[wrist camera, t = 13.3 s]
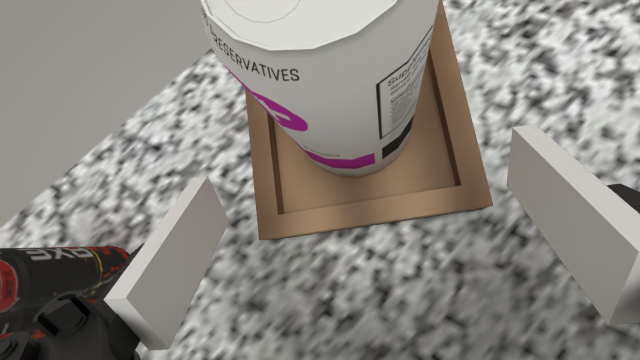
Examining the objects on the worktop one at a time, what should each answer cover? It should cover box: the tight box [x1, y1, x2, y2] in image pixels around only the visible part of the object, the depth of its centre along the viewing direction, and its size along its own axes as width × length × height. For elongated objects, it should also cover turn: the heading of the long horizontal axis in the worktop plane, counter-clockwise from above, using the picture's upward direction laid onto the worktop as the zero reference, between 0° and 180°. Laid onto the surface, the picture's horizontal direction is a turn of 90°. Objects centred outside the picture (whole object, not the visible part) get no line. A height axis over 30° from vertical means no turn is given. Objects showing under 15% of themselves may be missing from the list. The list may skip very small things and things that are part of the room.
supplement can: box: [201, 0, 439, 177], centre depth 17 cm, size 8×8×15 cm
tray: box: [245, 0, 493, 240], centre depth 24 cm, size 15×15×2 cm
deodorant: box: [0, 246, 130, 340], centre depth 19 cm, size 6×6×15 cm
